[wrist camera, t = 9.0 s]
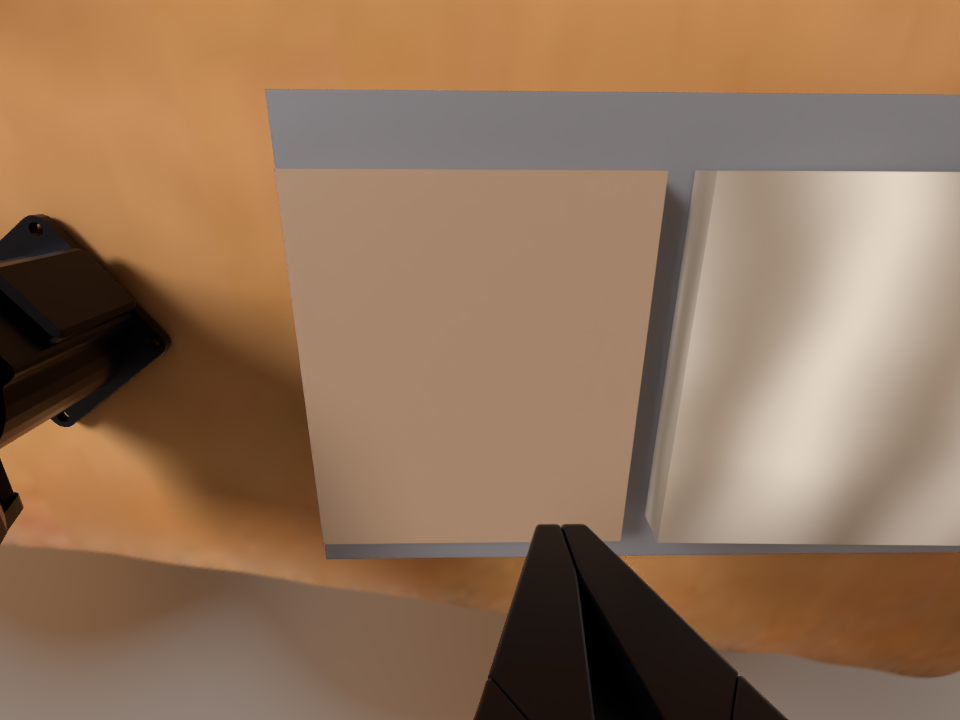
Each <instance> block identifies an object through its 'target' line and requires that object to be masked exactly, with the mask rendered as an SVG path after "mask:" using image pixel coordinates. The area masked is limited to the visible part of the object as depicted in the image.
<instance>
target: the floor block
mask: <svg viewBox="0 0 960 720" xmlns="http://www.w3.org/2000/svg"><path fill="white" fill-rule="evenodd" d="M265 93H266V100H267V108H268V116H269V123H270V131H271V139H272V146H273V154H274V162H275V169H274V171H275V179H276V186H277V194H278V201H279V209H280V217H281V224H282V232H283V239H284V247H285V254H286V262H287V270H288V277H289V285H290V292H291V300H292V308H293V315H294V323H295V330H296V338H297V346H298V353H299V361H300V368H301V376H302V384H303V391H304V399H305V406H306V414H307V422H308V429H309V437H310V444H311V452H312V460H313V467H314V475H315V482H316V490H317V497H318V505H319V513H320V520H321V528H322V535H323V543H324V544H325V551H326V559H370V558H460V557H526V556H527V553H528V550H529V546H530V543H531V540H532V537H533V534H534V531H535V528H536V526H537V525H538V524H558V525H559V526H560V527H561V526H562V525H563V524H584V525H586V526H588V527H589V528H590V529H591V530H592V531H593V532H594V533H595V534H596V535H597V536H598V537H599V538H600V539H601V540H602V541H603V542H604V543H605V544H606V545H607V546H608V547H609V548H610V549H611V550H612V551H613V552H614V553H615V554H616V555H617V556H640V555H730V554H820V553H910V552H960V546H941V545H838V544H736V543H657V541H656V538H655V536H654V534H653V532H652V530H651V527H650V525H649V523H648V521H647V519H646V517H645V509H646V502H647V496H648V489H649V482H650V475H651V468H652V462H653V455H654V448H655V441H656V434H657V428H658V421H659V414H660V407H661V400H662V394H663V387H664V380H665V373H666V366H667V360H668V353H669V346H670V339H671V332H672V326H673V319H674V312H675V305H676V299H677V292H678V285H679V278H680V271H681V265H682V258H683V251H684V244H685V237H686V231H687V224H688V217H689V210H690V203H691V197H692V190H693V183H694V176H695V170H708V171H899V172H960V95H918V94H797V93H676V92H556V91H435V90H314V89H265Z"/></svg>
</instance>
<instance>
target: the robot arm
mask: <svg viewBox="0 0 960 720" xmlns="http://www.w3.org/2000/svg"><path fill="white" fill-rule="evenodd" d="M37 224H40V225H41V227H42V228H43V234H42V233H40V232H39V230H38V228H37ZM152 338H155V339H156V340H157V341H158V342H159V346H156V345H155V344H154V343H153V342H152ZM170 346H171V340H170V337H169V336H168V334H167V333H166V332H165V331H164V330H163V329H162V328H161V327H160V326H159V325H158V324H157V323H156V322H155V321H154V320H153V319H152V318H151V317H150V316H149V315H148V314H147V313H146V312H145V311H144V310H143V309H142V308H141V307H140V306H139V305H138V304H137V303H136V302H135V300H134V298H133V297H132V296H131V295H130V294H129V293H128V292H127V291H126V290H125V289H124V288H123V287H122V286H121V285H120V284H119V283H118V282H117V281H116V280H115V279H114V278H113V277H112V276H111V275H110V274H109V273H108V272H107V271H106V270H105V269H104V268H103V267H102V266H101V265H100V264H99V263H98V262H97V261H96V260H95V259H94V258H93V257H92V256H91V255H90V254H89V253H88V252H87V251H85V250H83V249H82V248H81V247H80V246H79V245H78V244H77V243H76V242H75V241H74V240H73V239H72V238H71V237H70V236H69V235H68V234H67V233H66V232H65V231H64V230H63V229H62V228H61V227H60V226H59V225H58V224H57V223H56V222H55V221H54V220H52V219H51V218H50V217H48V216H46V215H43V214H38V215H29V216H27V217H25V218H24V219H22V220H21V221H20V222H19V223H18V224H17V225H16V226H15V227H14V228H13V229H12V230H11V231H10V232H9V233H8V234H7V235H6V236H5V237H4V238H2V239H1V240H0V449H1V448H2V447H4V446H5V445H7V444H9V443H10V442H12V441H14V440H15V439H17V438H19V437H20V436H22V435H24V434H25V433H27V432H29V431H30V430H32V429H34V428H35V427H37V426H39V425H40V424H42V423H44V422H45V421H47V420H49V419H51V420H53V421H54V422H55V423H56V424H58V425H59V426H63V427H70V426H72V425H74V424H75V423H77V422H78V421H80V420H81V419H82V418H83V417H85V416H86V415H87V414H88V413H90V412H91V411H92V410H93V409H95V408H96V407H97V406H98V405H100V404H101V403H102V402H103V401H105V400H106V399H107V398H108V397H110V396H111V395H112V394H113V393H115V392H116V391H117V390H118V389H120V388H121V387H122V386H123V385H125V384H126V383H127V382H128V381H130V380H131V379H132V378H133V377H135V376H136V375H137V374H138V373H140V372H141V371H142V370H143V369H145V368H146V367H147V366H148V365H149V364H151V363H152V362H153V361H154V360H156V359H157V358H158V357H159V356H161V355H162V354H163V353H164V352H166V351H167V350H168V349H169V348H170ZM64 412H66V413H67V414H68V415H69V417H68V416H66V415H65V414H64ZM22 510H23V504H22V502H21V499H20V496H19V494H18V493H16V492H13V490H12V487H11V485H10V482H9V480H8V477H7V475H6V472H5V469H4V467H3V464H2V462H1V459H0V544H1V542H2V541H3V539H4V537H5V535H6V533H7V531H8V529H9V528H10V527H11V525H12V524H13V522H14V521H15V520H16V518H17V517H18V515H19V514H20V512H21V511H22ZM737 677H738V672H737V671H736V670H735V669H734V668H733V667H732V666H731V665H730V664H729V663H728V662H727V661H726V660H725V659H724V658H723V657H722V656H721V655H720V654H719V653H718V652H717V651H716V650H715V649H714V648H713V647H711V646H710V645H709V644H708V643H707V642H706V641H705V640H704V639H703V638H702V637H701V636H700V635H699V634H698V633H697V632H696V631H695V630H694V629H693V628H692V627H691V626H690V625H689V624H688V623H687V622H686V621H685V620H684V619H683V618H682V617H680V616H679V615H678V614H677V613H676V612H675V611H674V610H673V609H672V608H671V607H670V606H669V605H668V604H667V603H666V602H665V601H664V600H663V599H662V598H661V597H660V596H659V595H658V594H657V593H656V592H655V591H654V590H653V589H652V588H651V587H650V586H648V585H647V584H646V583H645V582H644V581H643V580H642V579H641V578H640V577H639V576H638V575H637V574H636V573H635V572H634V571H633V570H632V569H631V568H630V567H629V566H628V565H627V564H626V563H625V562H624V561H623V560H622V559H621V558H620V557H619V556H617V555H616V554H615V553H614V552H613V551H612V550H611V549H610V548H609V547H608V546H607V545H606V544H605V543H604V542H603V541H602V540H601V539H600V538H599V537H598V536H597V535H596V534H595V533H594V532H593V531H592V530H591V529H590V528H589V527H588V526H586V525H584V524H563V525H562V526H561V527H560V526H559V525H558V524H538V525H537V526H536V528H535V531H534V534H533V537H532V540H531V543H530V546H529V550H528V553H527V556H526V559H525V562H524V565H523V568H522V572H521V575H520V578H519V581H518V584H517V587H516V590H515V594H514V597H513V600H512V603H511V606H510V609H509V612H508V616H507V619H506V622H505V625H504V628H503V631H502V634H501V638H500V641H499V644H498V647H497V650H496V653H495V656H494V660H493V663H492V666H491V669H490V673H489V675H488V680H487V681H486V684H485V687H484V690H483V693H482V696H481V699H480V702H479V705H478V708H477V711H476V714H475V717H474V719H473V720H788V719H787V718H786V717H785V716H784V715H783V714H782V713H781V712H780V711H778V710H777V709H776V708H775V707H774V706H773V705H772V704H771V703H770V702H769V701H768V700H767V699H766V698H764V697H763V696H762V695H761V694H760V693H759V692H758V691H757V690H756V689H755V688H754V687H753V686H752V685H751V684H750V683H749V682H748V681H747V680H746V679H745V678H744V677H742V676H739V677H738V678H737Z"/></svg>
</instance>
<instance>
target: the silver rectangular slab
mask: <svg viewBox="0 0 960 720" xmlns="http://www.w3.org/2000/svg"><path fill="white" fill-rule="evenodd" d="M645 517H646V519H647V521H648V523H649V525H650V527H651V530H652V532H653V534H654V536H655V538H656V541H657V543H736V544H838V545H941V546H960V172H899V171H708V170H695V176H694V183H693V190H692V197H691V203H690V210H689V217H688V224H687V231H686V237H685V244H684V251H683V258H682V265H681V271H680V278H679V285H678V292H677V299H676V305H675V312H674V319H673V326H672V332H671V339H670V346H669V353H668V360H667V366H666V373H665V380H664V387H663V394H662V400H661V407H660V414H659V421H658V428H657V434H656V441H655V448H654V455H653V462H652V468H651V475H650V482H649V489H648V496H647V502H646V509H645Z"/></svg>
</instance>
